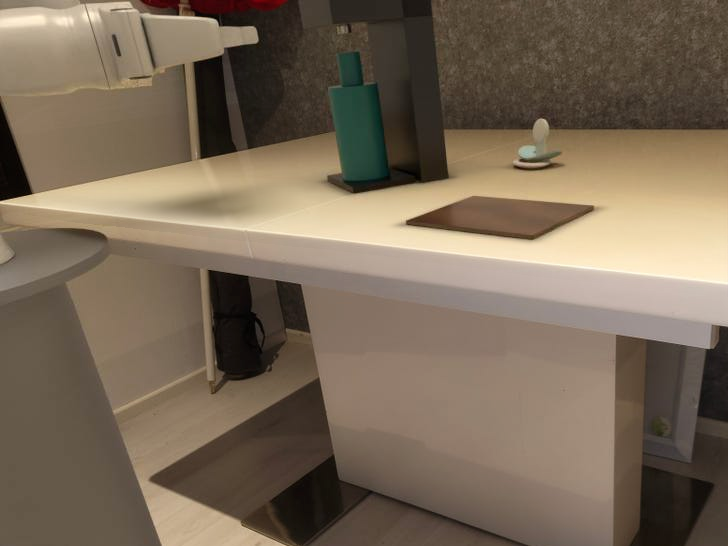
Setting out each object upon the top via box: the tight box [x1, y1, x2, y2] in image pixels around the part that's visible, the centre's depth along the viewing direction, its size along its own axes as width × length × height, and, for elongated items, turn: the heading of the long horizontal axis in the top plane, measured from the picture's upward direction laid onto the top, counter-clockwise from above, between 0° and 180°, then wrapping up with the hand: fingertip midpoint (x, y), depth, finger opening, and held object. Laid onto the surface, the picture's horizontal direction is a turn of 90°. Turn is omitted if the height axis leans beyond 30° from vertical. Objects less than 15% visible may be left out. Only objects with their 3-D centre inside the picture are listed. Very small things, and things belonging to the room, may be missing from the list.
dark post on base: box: [297, 0, 449, 194], centre depth 91 cm, size 14×14×26 cm
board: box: [405, 195, 595, 240], centre depth 72 cm, size 12×16×1 cm
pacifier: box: [512, 117, 563, 169], centre depth 95 cm, size 7×6×6 cm
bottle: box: [327, 50, 390, 181], centre depth 92 cm, size 7×7×16 cm
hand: (248, 36), depth 83 cm, fingers open, 8 cm apart
